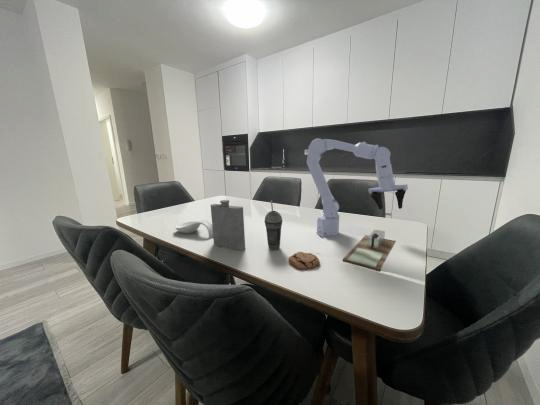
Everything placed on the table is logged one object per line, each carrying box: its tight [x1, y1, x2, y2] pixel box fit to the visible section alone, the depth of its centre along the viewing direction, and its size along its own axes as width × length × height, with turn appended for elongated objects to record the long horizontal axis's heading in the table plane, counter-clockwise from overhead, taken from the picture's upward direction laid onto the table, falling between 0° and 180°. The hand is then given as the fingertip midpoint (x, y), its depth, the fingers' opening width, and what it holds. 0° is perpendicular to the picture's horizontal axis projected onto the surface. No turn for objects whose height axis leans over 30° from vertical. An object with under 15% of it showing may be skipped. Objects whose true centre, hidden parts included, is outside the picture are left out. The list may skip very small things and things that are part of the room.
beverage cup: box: [264, 199, 283, 251], centre depth 89 cm, size 7×7×20 cm
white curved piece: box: [175, 219, 213, 239], centre depth 110 cm, size 24×12×7 cm, turn 61°
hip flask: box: [210, 199, 246, 251], centre depth 91 cm, size 16×4×20 cm, turn 61°
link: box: [367, 229, 386, 249], centre depth 89 cm, size 11×4×4 cm, turn 142°
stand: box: [342, 233, 397, 273], centre depth 84 cm, size 28×12×6 cm, turn 142°
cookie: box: [288, 251, 321, 271], centre depth 78 cm, size 10×11×3 cm
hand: (390, 208), depth 92 cm, fingers open, 7 cm apart
